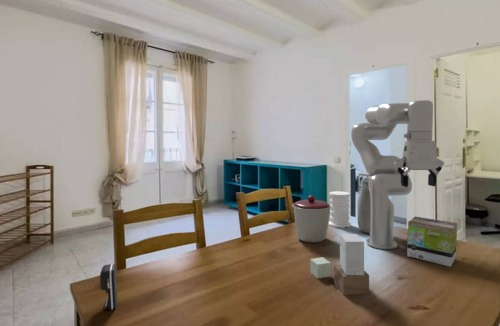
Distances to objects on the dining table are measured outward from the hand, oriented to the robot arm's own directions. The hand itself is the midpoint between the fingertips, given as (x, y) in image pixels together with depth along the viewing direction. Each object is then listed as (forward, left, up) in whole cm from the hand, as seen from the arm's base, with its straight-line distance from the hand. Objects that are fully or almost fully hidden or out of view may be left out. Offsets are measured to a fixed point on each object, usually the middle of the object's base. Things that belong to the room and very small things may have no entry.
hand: (418, 186), depth 103 cm
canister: (-36, -29, -31) cm, 55 cm away
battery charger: (+16, -101, -31) cm, 107 cm away
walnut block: (+11, -28, -31) cm, 43 cm away
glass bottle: (-44, +2, -31) cm, 54 cm away
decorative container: (-58, -8, -31) cm, 66 cm away
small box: (+11, -28, -25) cm, 39 cm away
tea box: (-10, +12, -31) cm, 34 cm away
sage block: (+1, -35, -30) cm, 46 cm away
